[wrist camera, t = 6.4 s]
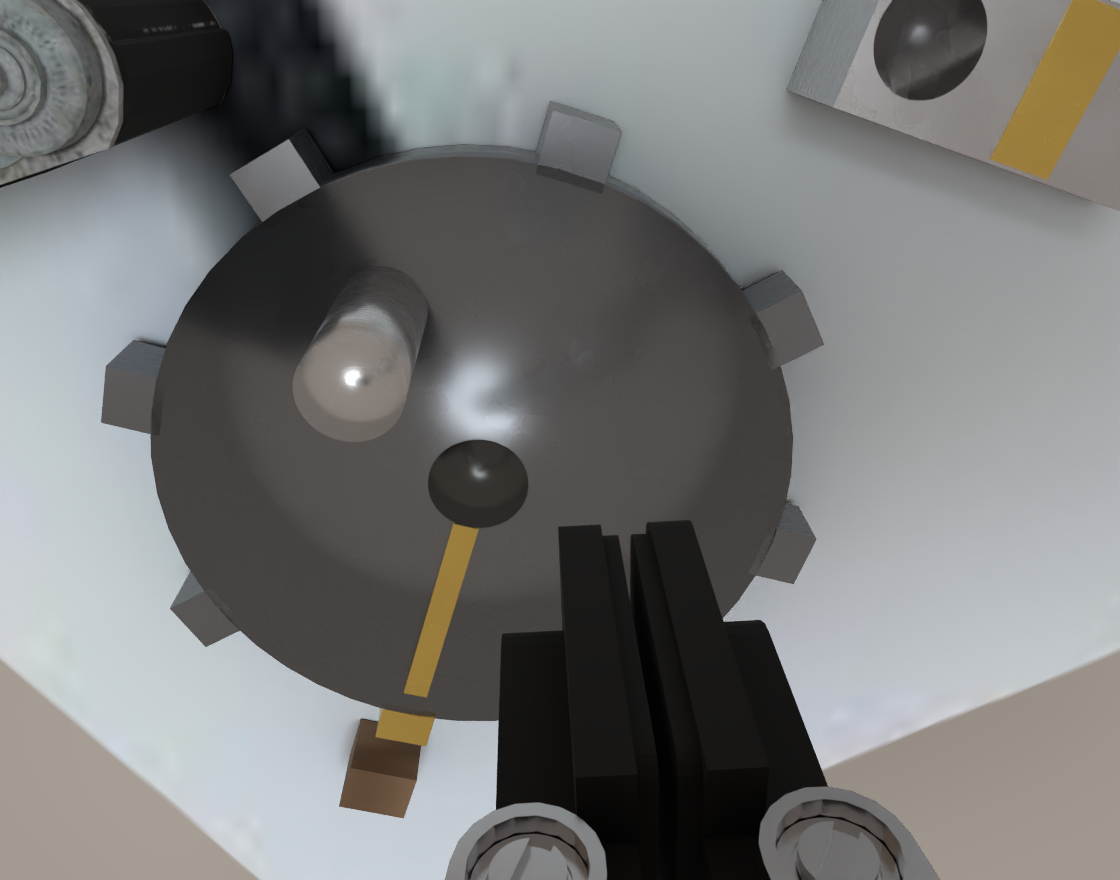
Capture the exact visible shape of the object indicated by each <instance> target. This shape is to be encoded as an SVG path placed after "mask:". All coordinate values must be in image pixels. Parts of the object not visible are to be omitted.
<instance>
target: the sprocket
mask: <svg viewBox="0 0 1120 880" xmlns="http://www.w3.org/2000/svg"><path fill="white" fill-rule="evenodd" d="M621 133H622V132H621V130H620V129H619V128H618V126H617V125H616V124H615V122H614V121H611V120H608V119H605V118H601V117H598V116H595V115H592V114H589V113H586V112H583V111H579V110H576V109H573V108H570V107H567V106H564V105H561V104H558V103H554V102H551V101H550V104H549V108H548V111H547V115H546V118H545V122H544V126H543V129H542V133H541V136H540V140H539V143H538V147H537V150H536V152H534V151H529V150H524V149H518V148H513V147H505V146H485V145H465V144H462V145H450V146H439V147H427V148H417V149H412V150H408V151H404V152H399V153H395V154H390V155H386V156H382V157H377V158H373V159H370V160H368V161H365V162H363V163H360V164H357V165H355V166H352V167H349V168H347V169H344V170H342V171H339V172H336V173H334V172H333V170H332V169H331V167H330V165H329V164H328V162H327V161H326V159H325V158H324V156H323V155H322V153H321V151H320V150H319V148H318V147H317V145H316V144H315V142H314V140H313V139H312V137H311V136H310V134H309V133H308V131H307V129H306V128H305V129H303V130H301V131H300V132H298V133H296V134H295V135H293V136H291V137H290V138H288V139H286V140H285V141H283V142H281V143H280V144H278V145H276V146H275V147H273V148H271V149H270V150H268V151H266V152H265V153H263V154H261V155H260V156H258V157H256V158H255V159H253V160H251V161H250V162H248V163H247V164H245V165H244V166H242V167H241V168H239V169H238V170H236V171H235V172H233V173H231V174H230V176H231V178H232V179H233V180H234V182H235V183H236V185H237V186H238V188H239V189H240V191H241V192H242V193H243V195H244V196H245V198H246V199H247V201H248V202H249V204H250V205H251V206H252V208H253V209H254V211H255V212H256V214H257V215H258V216H259V218H260V219H261V221H260V222H259V223H257V224H256V225H255V226H254V227H253V228H252V229H251V230H250V231H249V232H248V233H247V234H245V235H244V236H243V237H242V238H241V239H240V240H239V241H238V242H237V243H236V244H235V245H234V246H233V247H232V248H231V249H230V250H229V252H228V253H227V254H226V255H225V256H224V257H223V258H222V259H221V260H220V261H219V262H218V263H217V264H216V265H215V266H214V267H213V268H212V269H211V270H210V271H209V273H208V274H207V276H206V277H205V279H204V280H203V281H202V283H201V284H200V286H199V287H198V289H197V290H196V291H195V293H194V294H193V296H192V297H191V298H190V300H189V301H188V303H187V304H186V306H185V308H184V310H183V312H182V314H181V316H180V318H179V320H178V322H177V324H176V326H175V328H174V330H173V332H172V334H171V336H170V338H169V340H168V343H167V346H166V348H162V347H158V346H154V345H150V344H146V343H142V342H138V341H134V340H133V341H132V342H131V343H130V344H129V345H128V346H127V347H126V348H125V349H124V350H123V351H122V352H120V353H119V354H118V355H117V356H116V357H115V358H114V359H113V360H112V361H111V362H110V363H109V364H108V365H106V372H105V384H104V396H103V407H102V419H101V423H105V424H110V425H114V426H118V427H123V428H127V429H131V430H135V431H140V432H144V433H148V434H151V459H152V465H153V471H154V477H155V482H156V488H157V494H158V497H159V500H160V503H161V506H162V510H163V513H164V516H165V519H166V522H167V525H168V528H169V530H170V533H171V535H172V537H173V539H174V541H175V543H176V545H177V547H178V549H179V551H180V553H181V555H182V557H183V559H184V561H185V563H186V565H187V566H188V568H189V569H190V571H191V572H190V573H189V575H188V577H187V578H186V580H185V582H184V584H183V586H182V587H181V589H180V591H179V593H178V595H177V597H176V598H175V600H174V602H173V604H172V606H171V607H170V609H171V610H172V611H173V612H174V613H175V615H176V616H177V617H178V618H179V619H180V620H181V621H182V622H183V623H184V624H185V625H186V626H187V627H188V628H189V629H190V631H191V632H192V633H193V634H194V635H195V636H196V637H197V638H198V639H199V640H200V641H201V642H202V643H203V644H204V646H205V647H207V646H209V645H211V644H213V643H215V642H217V641H219V640H221V639H223V638H225V637H227V636H229V635H231V634H234V633H236V632H238V631H241V632H242V633H244V634H245V635H246V636H247V637H248V638H249V639H250V640H251V641H252V642H253V643H255V644H256V645H257V646H258V647H260V648H261V649H262V650H264V651H265V652H267V653H268V654H269V655H271V656H272V657H274V658H275V659H276V660H278V661H279V662H281V663H282V664H283V665H285V666H286V667H288V668H290V669H291V670H293V671H295V672H297V673H299V674H300V675H302V676H304V677H306V678H307V679H309V680H311V681H313V682H315V683H316V684H318V685H321V686H323V687H325V688H328V689H330V690H332V691H334V692H337V693H339V694H341V695H344V696H346V697H348V698H351V699H354V700H357V701H360V702H363V703H367V704H370V705H373V706H376V707H379V708H381V709H380V715H379V720H378V725H377V731H376V736H375V737H378V738H383V739H389V740H394V741H399V742H405V743H410V744H416V745H421V746H426V744H427V741H428V738H429V735H430V732H431V729H432V726H433V722H434V719H435V718H437V719H446V720H456V721H496V720H499V696H500V663H501V638H502V633H522V632H541V631H560V630H562V612H561V588H560V564H559V540H558V527H559V526H579V525H599V524H600V525H601V529H602V536H607V535H618V537H619V542H620V547H621V553H622V559H623V564H624V570H625V576H626V581H627V587H628V593H629V598H630V539H631V534H646V524H647V522H659V521H679V520H690V521H691V522H692V524H693V527H694V530H695V533H696V537H697V540H698V543H699V546H700V549H701V552H702V556H703V559H704V562H705V565H706V568H707V571H708V574H709V578H710V581H711V584H712V587H713V590H714V593H715V597H716V600H717V603H718V606H719V609H720V612H721V615H722V618H723V617H724V616H725V615H726V614H727V613H728V612H729V611H730V610H731V608H732V607H733V606H734V605H735V604H736V603H737V602H738V600H739V599H740V597H741V596H742V594H743V593H744V591H745V590H746V588H747V587H748V586H749V584H750V583H751V581H752V580H753V578H754V577H755V575H757V576H761V577H765V578H770V579H774V580H778V581H783V582H787V583H791V584H794V582H795V580H796V578H797V576H798V574H799V572H800V571H801V569H802V567H803V565H804V563H805V561H806V559H807V557H808V555H809V553H810V551H811V549H812V547H813V545H814V543H815V541H816V537H815V536H814V534H813V532H812V530H811V528H810V527H809V525H808V523H807V521H806V519H805V517H804V516H803V514H802V512H801V510H800V508H799V507H798V506H795V505H791V504H787V503H786V498H787V492H788V487H789V482H790V477H791V466H792V445H793V434H792V424H791V414H790V404H789V398H788V394H787V390H786V386H785V383H784V379H783V375H782V371H781V367H780V366H781V365H783V364H785V363H788V362H790V361H792V360H794V359H796V358H798V357H800V356H802V355H804V354H806V353H808V352H810V351H812V350H814V349H816V348H818V347H820V346H822V345H824V343H823V341H822V338H821V336H820V333H819V331H818V329H817V326H816V324H815V321H814V319H813V317H812V314H811V312H810V310H809V307H808V305H807V302H806V300H805V298H804V295H803V293H802V291H801V290H800V289H799V288H798V286H797V285H796V284H795V283H794V282H793V281H792V280H791V279H790V278H789V277H788V276H787V275H786V274H785V273H784V272H783V271H780V272H778V273H776V274H774V275H772V276H770V277H768V278H766V279H764V280H762V281H760V282H758V283H756V284H754V285H752V286H750V287H748V288H746V289H744V290H741V289H740V288H739V286H738V285H737V284H736V282H735V281H734V280H733V278H732V277H731V276H730V274H729V273H728V272H727V270H726V269H725V268H724V267H723V266H722V264H721V263H720V262H719V261H718V260H717V258H716V257H715V256H714V255H713V254H712V252H711V251H710V250H709V249H708V248H707V246H706V245H705V244H704V243H703V242H702V240H701V239H699V238H698V237H697V236H696V235H695V234H694V233H693V232H692V231H691V230H689V229H688V228H687V227H686V226H685V225H684V224H683V223H682V222H681V221H680V220H678V219H677V218H676V217H675V216H674V215H673V214H672V213H671V212H669V211H668V210H666V209H665V208H663V207H662V206H660V205H659V204H657V203H656V202H654V201H653V200H651V199H650V198H648V197H647V196H646V195H644V194H643V193H641V192H640V191H638V190H637V189H635V188H633V187H631V186H629V185H627V184H625V183H623V182H621V181H619V180H617V179H615V178H613V177H611V176H609V175H608V174H609V171H610V167H611V164H612V161H613V158H614V155H615V152H616V149H617V146H618V142H619V139H620V136H621Z"/></svg>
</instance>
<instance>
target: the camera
mask: <svg viewBox="0 0 1120 880" xmlns="http://www.w3.org/2000/svg"><path fill="white" fill-rule="evenodd" d="M231 69H232V49H231V45H230V40H229V36H228V33H227V31H226V30H224V29H222V28H221V26H220V24H219V21H218V20H217V18H216V17H215V15H214V14H213V12H212V10H211V9H210V7H209V6H208V4H207V3H206V2H205V1H204V0H0V188H1V187H4V186H7V185H10V184H13V183H16V182H19V181H22V180H25V179H28V178H31V177H34V176H37V175H40V174H43V173H46V172H49V171H51V170H54V169H56V168H59V167H61V166H64V165H66V164H69V163H71V162H74V161H76V160H79V159H82V158H84V157H87V156H89V155H92V154H94V153H97V152H99V151H102V150H105V149H108V148H111V147H113V146H115V145H117V144H120V143H122V142H125V141H127V140H130V139H132V138H135V137H137V136H140V135H143V134H145V133H148V132H150V131H153V130H155V129H158V128H160V127H163V126H165V125H168V124H170V123H173V122H175V121H178V120H180V119H182V118H185V117H187V116H190V115H192V114H195V113H197V112H200V111H202V110H205V109H208V108H211V107H215V106H218V105H220V104H221V102H222V100H223V98H224V95H225V93H226V91H227V89H228V88H229V86H230V83H231Z"/></svg>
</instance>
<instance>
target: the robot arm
mask: <svg viewBox="0 0 1120 880" xmlns="http://www.w3.org/2000/svg"><path fill="white" fill-rule="evenodd" d="M558 540H559V564H560V588H561V612H562V630H560V631H541V632H522V633H502V638H501V663H500V696H499V729H498V762H497V794H496V810H495V811H492V812H491V813H489V814H488V815H486V816H485V817H483V818H482V819H480V820H479V821H477V822H475V823H474V824H473V825H472V826H471V827H470V828H469V829H468V831H467V832H466V833H465V834H464V835H463V836H462V838H461V839H460V840H459V841H458V843H457V846H456V848H455V850H454V852H453V855H452V857H451V859H450V862H449V866H448V870H447V874H446V878H445V880H941V879H940V878H939V876H938V875H937V873H936V872H935V870H934V869H933V867H932V865H931V864H930V862H929V861H928V859H927V858H926V856H925V855H924V853H923V851H922V850H921V848H920V847H919V845H918V844H917V842H916V840H915V839H914V837H913V836H912V835H911V833H910V832H909V831H908V830H907V829H906V827H905V826H904V825H903V824H902V823H901V822H900V820H899V819H898V818H897V817H896V816H895V815H894V814H892V813H891V812H889V811H888V810H887V809H885V808H884V807H883V806H881V805H880V804H879V803H877V802H876V801H874V800H871V799H869V798H867V797H864V796H862V795H860V794H858V793H855V792H853V791H849V790H844V789H839V788H834V787H828V785H827V783H826V780H825V777H824V775H823V772H822V770H821V767H820V764H819V762H818V759H817V757H816V754H815V751H814V749H813V746H812V743H811V741H810V738H809V736H808V733H807V730H806V728H805V725H804V723H803V720H802V717H801V715H800V712H799V709H798V707H797V704H796V702H795V699H794V696H793V694H792V691H791V688H790V686H789V683H788V681H787V678H786V675H785V673H784V670H783V668H782V665H781V662H780V660H779V657H778V654H777V652H776V649H775V647H774V644H773V641H772V639H771V636H770V634H769V631H768V629H767V627H766V625H765V623H764V622H762V621H761V620H752V621H733V622H723V619H722V615H721V612H720V609H719V606H718V603H717V600H716V597H715V593H714V590H713V587H712V584H711V581H710V578H709V574H708V571H707V568H706V565H705V562H704V559H703V556H702V552H701V549H700V546H699V543H698V540H697V537H696V533H695V530H694V527H693V524H692V522H691V521H690V520H679V521H659V522H647V524H646V534H631V539H630V598H629V593H628V587H627V581H626V576H625V570H624V564H623V559H622V553H621V547H620V542H619V537H618V535H607V536H602V529H601V525H600V524H599V525H579V526H559V527H558Z"/></svg>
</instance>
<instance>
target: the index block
mask: <svg viewBox="0 0 1120 880" xmlns="http://www.w3.org/2000/svg"><path fill="white" fill-rule="evenodd" d="M377 725H378V722H374V721H369V720H364V719H361V721H360V724H359V727H358V731H357V734H356V737H355V741H354V744H353V747H352V751H351V754H350V758H349V762H348V767H347V772H346V777H345V781H344V786H343V791H342V795H341V800H340V805H339V806H340V807H345V808H351V809H356V810H362V811H367V812H373V813H378V814H383V815H389V816H394V817H400V818H404V815H405V812H406V810H407V807H408V804H409V801H410V798H411V795H412V792H413V789H414V787H415V784H416V781H417V773H418V765H419V757H420V749H421V745H416V744H410V743H405V742H399V741H394V740H389V739H383V738H378V737H375V736H376V731H377Z"/></svg>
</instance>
